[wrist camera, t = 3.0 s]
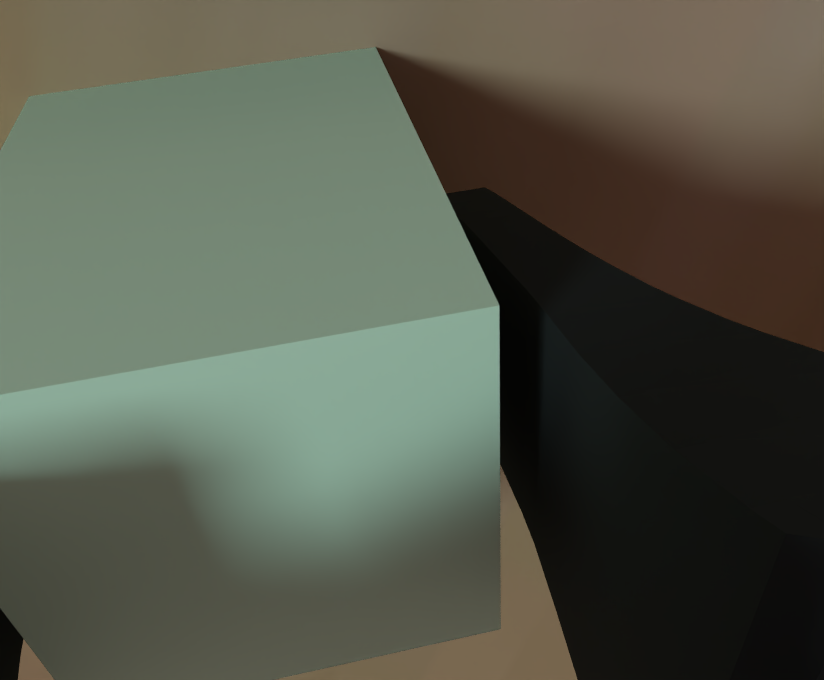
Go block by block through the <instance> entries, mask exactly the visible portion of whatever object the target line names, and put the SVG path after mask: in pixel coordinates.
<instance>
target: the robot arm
mask: <svg viewBox="0 0 824 680" xmlns="http://www.w3.org/2000/svg"><path fill="white" fill-rule="evenodd" d="M446 195H447V197H448V199H449V201H450V203H451V205H452V208H453V210H454V212H455V214H456V216H457V218H458V220H459V222H460V224H461V226H462V228H463V230H464V233H465V235H466V237H467V239H468V241H469V243H470V245H471V247H472V249H473V251H474V253H475V256H476V258H477V260H478V262H479V264H480V266H481V268H482V270H483V272H484V274H485V276H486V278H487V281H488V283H489V285H490V287H491V289H492V291H493V293H494V295H495V297H496V299H497V301H498V304H499V331H500V464H501V467H502V469H503V471H504V473H505V475H506V478H507V480H508V482H509V484H510V487H511V489H512V491H513V493H514V496H515V498H516V500H517V502H518V504H519V507H520V509H521V511H522V513H523V516H524V519H525V521H526V524H527V526H528V529H529V531H530V534H531V536H532V539H533V541H534V544H535V547H536V550H537V553H538V556H539V559H540V562H541V565H542V568H543V571H544V575H545V578H546V581H547V584H548V587H549V590H550V593H551V596H552V599H553V602H554V605H555V608H556V611H557V615H558V618H559V621H560V624H561V627H562V631H563V634H564V637H565V640H566V643H567V647H568V650H569V653H570V656H571V660H572V663H573V666H574V669H575V672H576V676H577V679H578V680H824V352H822V351H819V350H816V349H812V348H809V347H806V346H803V345H800V344H797V343H794V342H791V341H788V340H785V339H782V338H779V337H776V336H773V335H770V334H766V333H763V332H761V331H758V330H755V329H752V328H750V327H747V326H744V325H742V324H739V323H736V322H733V321H731V320H728V319H726V318H723V317H721V316H719V315H716V314H714V313H711V312H709V311H707V310H704V309H702V308H699V307H697V306H695V305H692V304H690V303H688V302H685V301H683V300H680V299H678V298H676V297H674V296H672V295H669V294H667V293H665V292H663V291H661V290H659V289H657V288H654V287H652V286H650V285H648V284H647V283H645V282H643V281H641V280H639V279H637V278H635V277H633V276H631V275H629V274H627V273H625V272H623V271H622V270H620V269H618V268H616V267H614V266H612V265H610V264H608V263H607V262H605V261H603V260H601V259H600V258H598V257H596V256H594V255H592V254H591V253H589V252H587V251H586V250H584V249H582V248H581V247H579V246H577V245H575V244H574V243H572V242H571V241H569V240H567V239H566V238H564V237H562V236H561V235H559V234H558V233H556V232H554V231H553V230H551V229H550V228H548V227H546V226H545V225H543V224H542V223H540V222H539V221H537V220H536V219H534V218H533V217H531V216H529V215H528V214H526V213H525V212H523V211H522V210H520V209H519V208H517V207H516V206H514V205H513V204H511V203H509V202H508V201H506V200H505V199H503V198H502V197H500V196H499V195H497V194H495V193H494V192H492V191H490V190H488V189H487V188H479V189H473V190H466V191H460V192H454V193H448V194H446ZM22 644H23V637H22V636H21V635H20V633H19V632H18V631H17V629H16V628H15V627H14V626H13V624H12V623H11V622H10V620H9V619H8V618H7V616H6V615H5V614H4V612H3V611H2V610H1V608H0V680H18V672H19V663H20V655H21V649H22Z"/></svg>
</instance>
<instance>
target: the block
mask: <svg viewBox="0 0 824 680" xmlns="http://www.w3.org/2000/svg"><path fill="white" fill-rule="evenodd" d="M0 608H1V610H2V611H3V612H4V614H5V615H6V616H7V618H8V619H9V620H10V622H11V623H12V624H13V626H14V627H15V628H16V629H17V631H18V632H19V633H20V635H21V636H22V637H23V639H24V640H25V641H26V643H27V644H28V645H29V647H30V648H31V649H32V650H33V652H34V653H35V654H36V656H37V657H38V658H39V660H40V661H41V662H42V664H43V665H44V666H45V668H46V669H47V670H48V671H49V673H50V674H51V675H52V677H53V678H54V679H55V680H274V679H279V678H283V677H288V676H292V675H297V674H301V673H306V672H310V671H315V670H319V669H324V668H328V667H333V666H337V665H342V664H346V663H351V662H355V661H360V660H364V659H369V658H373V657H378V656H382V655H387V654H391V653H396V652H400V651H405V650H409V649H414V648H418V647H423V646H427V645H432V644H436V643H441V642H445V641H450V640H454V639H459V638H463V637H468V636H472V635H477V634H481V633H486V632H490V631H495V630H499V629H501V618H500V331H499V304H498V301H497V299H496V297H495V295H494V293H493V291H492V289H491V287H490V285H489V283H488V281H487V278H486V276H485V274H484V272H483V270H482V268H481V266H480V264H479V262H478V260H477V258H476V256H475V253H474V251H473V249H472V247H471V245H470V243H469V241H468V239H467V237H466V235H465V233H464V230H463V228H462V226H461V224H460V222H459V220H458V218H457V216H456V214H455V212H454V210H453V208H452V205H451V203H450V201H449V199H448V197H447V195H446V193H445V191H444V189H443V187H442V185H441V183H440V180H439V178H438V176H437V174H436V172H435V170H434V168H433V166H432V164H431V162H430V160H429V157H428V155H427V153H426V151H425V149H424V147H423V145H422V143H421V141H420V139H419V137H418V135H417V132H416V130H415V128H414V126H413V124H412V122H411V120H410V118H409V116H408V114H407V112H406V109H405V107H404V105H403V103H402V101H401V99H400V97H399V95H398V93H397V91H396V89H395V87H394V84H393V82H392V80H391V78H390V76H389V74H388V72H387V70H386V68H385V66H384V64H383V61H382V59H381V57H380V55H379V53H378V51H377V49H376V47H373V48H366V49H359V50H352V51H345V52H338V53H331V54H324V55H317V56H310V57H303V58H296V59H289V60H282V61H275V62H268V63H261V64H254V65H247V66H240V67H233V68H226V69H219V70H212V71H205V72H197V73H190V74H183V75H176V76H169V77H162V78H155V79H148V80H141V81H134V82H127V83H120V84H113V85H106V86H99V87H92V88H85V89H78V90H71V91H64V92H57V93H50V94H43V95H36V96H29V98H28V100H27V102H26V104H25V105H24V107H23V109H22V111H21V113H20V115H19V117H18V119H17V120H16V122H15V124H14V126H13V128H12V130H11V132H10V134H9V136H8V137H7V139H6V141H5V143H4V145H3V147H2V149H1V151H0Z"/></svg>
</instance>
